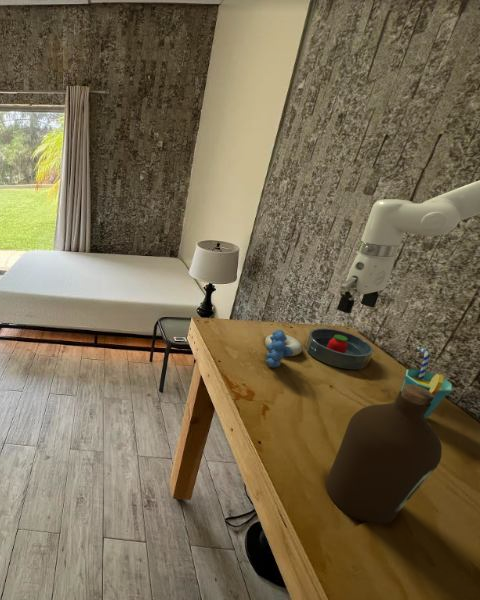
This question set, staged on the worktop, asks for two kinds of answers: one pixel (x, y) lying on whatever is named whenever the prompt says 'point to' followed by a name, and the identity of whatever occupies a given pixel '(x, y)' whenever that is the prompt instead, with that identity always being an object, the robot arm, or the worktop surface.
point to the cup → (428, 382)
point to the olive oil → (384, 457)
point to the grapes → (277, 349)
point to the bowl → (351, 359)
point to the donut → (288, 344)
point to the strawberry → (338, 343)
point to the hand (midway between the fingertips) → (355, 308)
